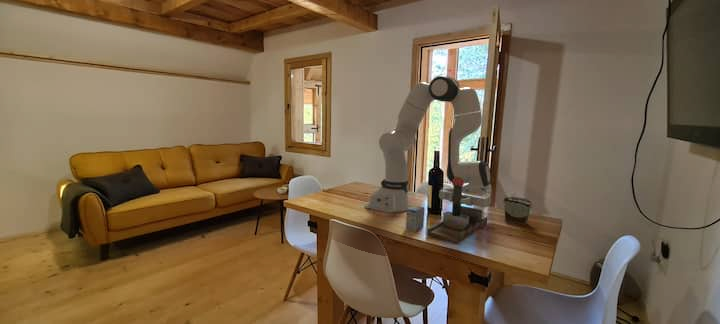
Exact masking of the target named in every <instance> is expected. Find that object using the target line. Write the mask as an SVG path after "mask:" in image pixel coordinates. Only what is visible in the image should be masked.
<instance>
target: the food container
mask: <svg viewBox="0 0 720 324" xmlns="http://www.w3.org/2000/svg"><path fill="white" fill-rule="evenodd" d="M502 202H504V220H507V221H511V222H513V223H515V224H516V223H517V224H520V225H523V226H527V225H528V220H529V216H530V213H531V212H530V211H531V208H533V203H532V201H531V200H529V199H527V198H523V197H517V196H505V197H504V198H503V201H502Z"/></svg>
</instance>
